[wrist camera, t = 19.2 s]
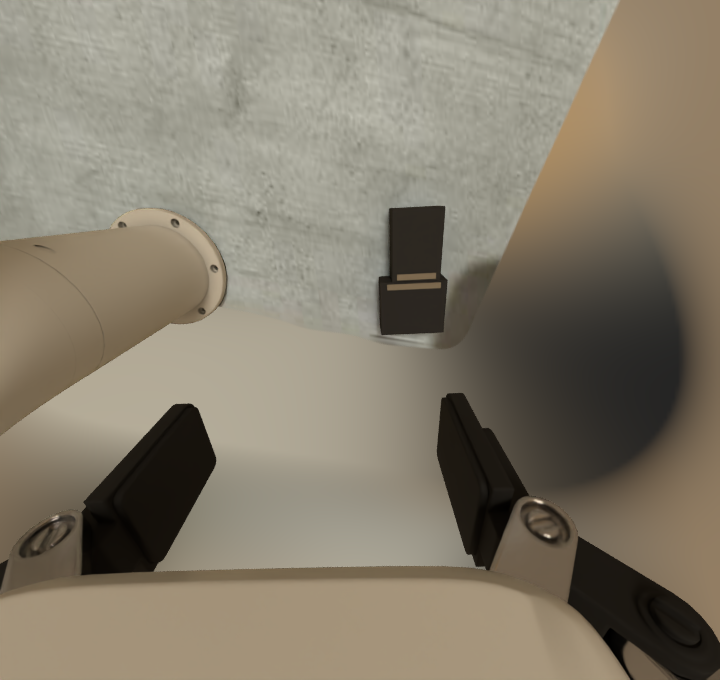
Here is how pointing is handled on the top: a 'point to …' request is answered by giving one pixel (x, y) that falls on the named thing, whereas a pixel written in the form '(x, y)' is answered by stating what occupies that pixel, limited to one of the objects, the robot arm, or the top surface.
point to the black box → (416, 243)
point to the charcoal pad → (412, 306)
